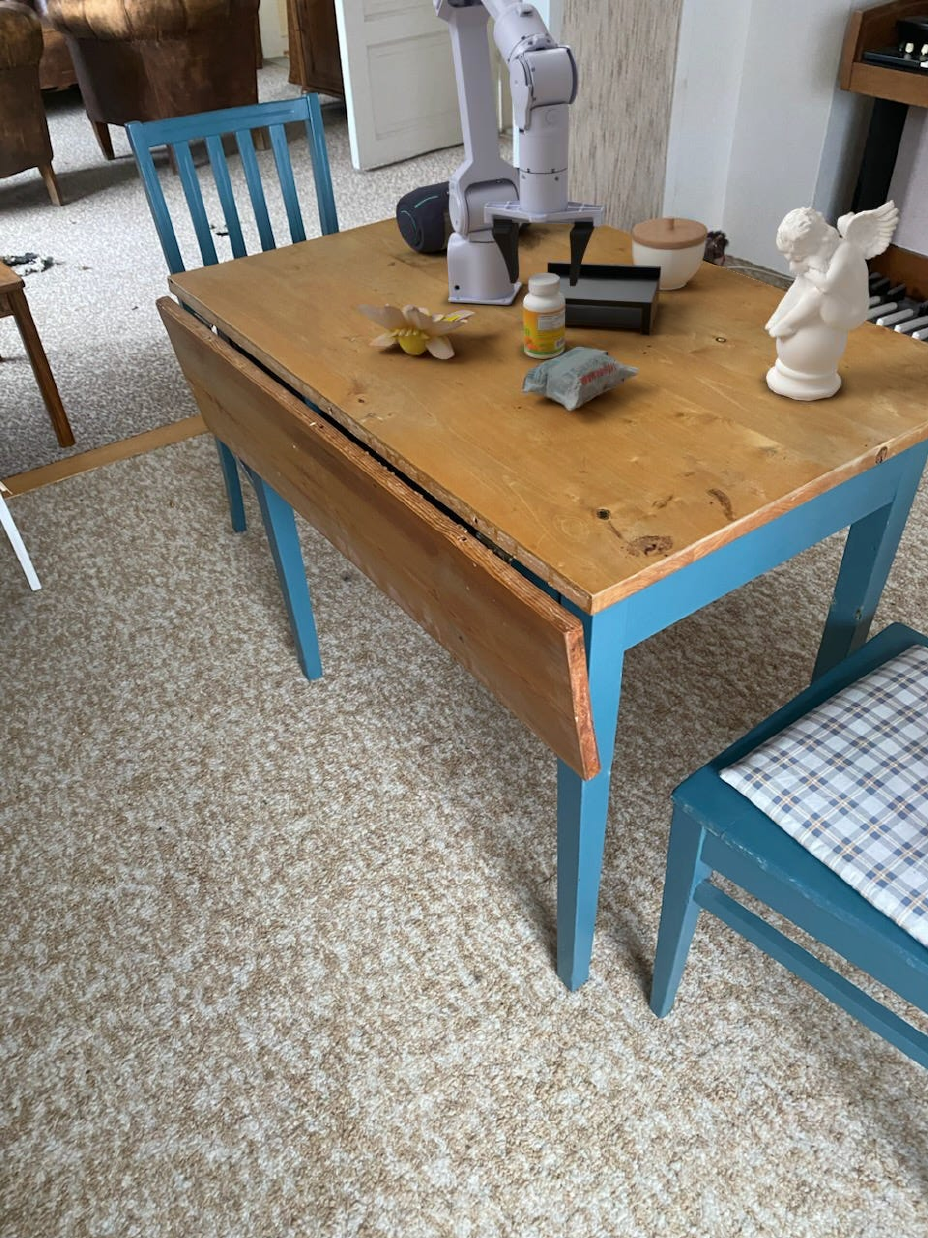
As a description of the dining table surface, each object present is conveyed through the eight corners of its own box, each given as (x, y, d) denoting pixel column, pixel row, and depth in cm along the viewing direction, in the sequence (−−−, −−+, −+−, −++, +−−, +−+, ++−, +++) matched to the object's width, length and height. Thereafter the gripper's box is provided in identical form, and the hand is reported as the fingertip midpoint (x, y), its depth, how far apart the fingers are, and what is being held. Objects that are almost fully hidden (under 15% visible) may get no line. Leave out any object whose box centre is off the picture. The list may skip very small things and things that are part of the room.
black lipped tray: (533, 328, 132) (533, 287, 129) (548, 300, 140) (548, 261, 136) (649, 334, 128) (652, 293, 125) (658, 305, 136) (661, 265, 132)
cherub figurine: (745, 389, 115) (773, 198, 101) (781, 350, 123) (812, 167, 109) (846, 411, 109) (891, 213, 95) (878, 369, 117) (924, 179, 103)
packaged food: (637, 389, 116) (639, 351, 113) (570, 425, 111) (570, 385, 108) (584, 369, 122) (585, 332, 118) (518, 402, 116) (517, 364, 113)
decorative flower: (499, 325, 129) (483, 258, 122) (462, 377, 123) (443, 311, 116) (406, 317, 136) (386, 253, 128) (367, 366, 130) (343, 302, 123)
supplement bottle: (521, 344, 128) (520, 272, 122) (561, 340, 129) (561, 268, 122) (526, 361, 124) (525, 287, 118) (567, 357, 124) (568, 284, 118)
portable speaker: (420, 264, 154) (414, 200, 147) (393, 247, 161) (387, 185, 154) (551, 231, 162) (551, 169, 156) (520, 217, 169) (519, 156, 163)
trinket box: (698, 268, 146) (705, 204, 140) (705, 295, 138) (712, 228, 132) (628, 269, 147) (631, 206, 141) (630, 296, 139) (634, 230, 133)
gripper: (475, 175, 111) (480, 290, 119) (599, 178, 107) (595, 296, 116) (490, 158, 116) (494, 270, 124) (609, 160, 112) (604, 275, 121)
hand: (544, 281), depth 120 cm, fingers open, 7 cm apart
